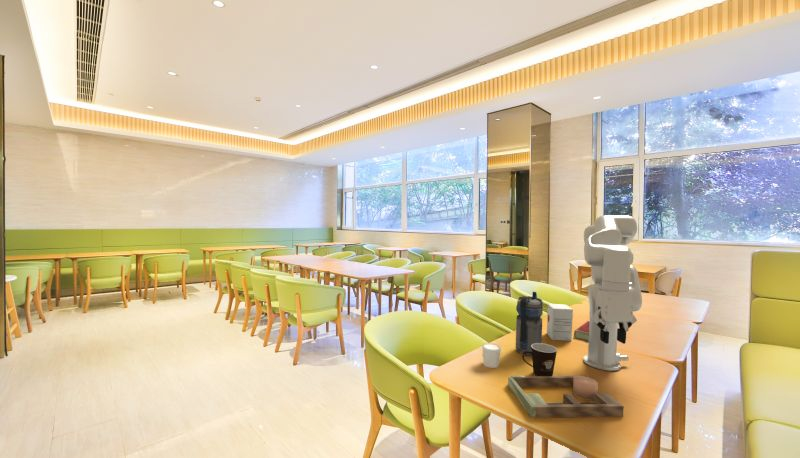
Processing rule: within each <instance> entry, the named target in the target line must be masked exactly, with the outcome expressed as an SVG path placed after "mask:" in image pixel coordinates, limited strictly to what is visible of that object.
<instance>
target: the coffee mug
mask: <svg viewBox="0 0 800 458" xmlns="http://www.w3.org/2000/svg"><path fill="white" fill-rule="evenodd" d="M531 350H532V352H529V351H526V352H524V353H523V354H522V356H521V359H522V360H523V361H524V363H526V365H528V366H530V367H531V368H532V371H533V376H554V370H555V364H556V357H557V353H558V350H557V348H556V347H555V346H554V345H552V344H547V343H535V344H532V345H531ZM526 353H530V354H531V355H532V356H531V359H532V364H531V363H530V362H528V361H526V359H525V356H526V355H525V354H526Z"/></svg>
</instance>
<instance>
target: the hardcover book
mask: <svg viewBox="0 0 800 458" xmlns="http://www.w3.org/2000/svg"><path fill="white" fill-rule="evenodd" d="M589 321H590V320H587V321H585V322H584V323H583V324H582V325H581V326H579V327H577V328H576V329H574V332H573V337H574V338H577V339H579V340H581V339H582V340H584V341H588V342H589Z"/></svg>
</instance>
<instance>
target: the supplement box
mask: <svg viewBox="0 0 800 458" xmlns="http://www.w3.org/2000/svg"><path fill="white" fill-rule="evenodd" d="M573 313H574V309H572V308H571V306H569V305H567V304H562V303H559V304H558V303H547V317H546V319H547V320H546V322H547V323H546V334H547V335H548V337H549V338H550V339H551V340H552V341H566V342H567V341H568V342H572V340H573V339H572V338H573V337H572V336H573V317H574V314H573Z"/></svg>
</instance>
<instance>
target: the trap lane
mask: <svg viewBox="0 0 800 458" xmlns="http://www.w3.org/2000/svg"><path fill="white" fill-rule="evenodd" d="M575 376H576V375H553V376H535V375H532V376H531V375H529V376H527V375H522V374H521V375H518V374H517V375H511V376H509V375H508V376H507V386H508V388H510V390H511V392H512V393H513V394H514V395H515V397H516V399H517V400H518V401H519V403H520V404H521V405H522V406H523V408H524V410H525V411H526V412H527V414H529V416H530V418H578V417H579V418H584V417H585V418H588V417H589V418H591V417H598V418H599V417H600V418H601V417H604V418H605V417H624V407H625V406H624V405H623V404H622V403H620V402H619V401H618V400H617V399H615V398H614V397H613V396H612V395H610V394H609V393H608V392H601V393H600V392H598V393H595V400H593V401H594V402H590V401H589V402H583V401H582V402H579V401H578V400H577V399H576V398H575V397H574V396H573V395H572V393H567V392H566V393H563V395H562V397H563V398H562V402H546V401H545V400H544V399H543V397H542V396H541V395H540V394H539V393H525V392H524V390H523V388H525V387H526V388H527V387H531V388H532V387H548V388H549V387H573V378H574V377H575ZM584 376H585V377H588V376H587V375H584Z"/></svg>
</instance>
